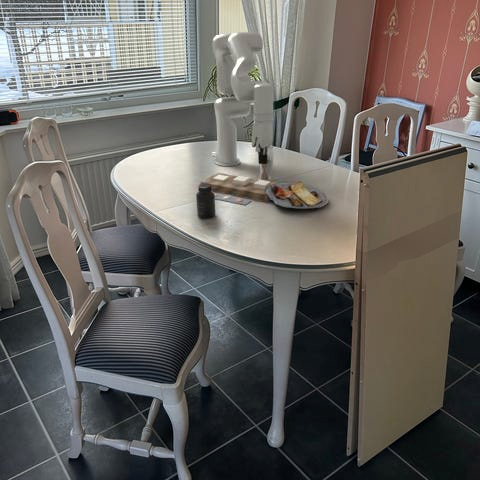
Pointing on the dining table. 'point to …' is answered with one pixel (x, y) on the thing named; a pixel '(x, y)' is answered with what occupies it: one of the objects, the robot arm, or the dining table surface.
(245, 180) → the middle button
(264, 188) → the right button
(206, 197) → the supplement bottle
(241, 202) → the pattern card
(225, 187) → the button board
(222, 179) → the left button
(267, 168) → the beer glass
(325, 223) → the dining table surface
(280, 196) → the food plate
